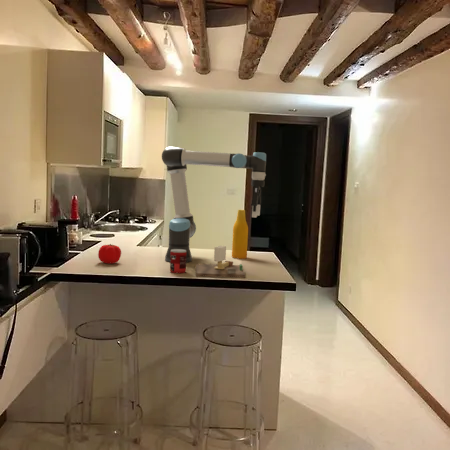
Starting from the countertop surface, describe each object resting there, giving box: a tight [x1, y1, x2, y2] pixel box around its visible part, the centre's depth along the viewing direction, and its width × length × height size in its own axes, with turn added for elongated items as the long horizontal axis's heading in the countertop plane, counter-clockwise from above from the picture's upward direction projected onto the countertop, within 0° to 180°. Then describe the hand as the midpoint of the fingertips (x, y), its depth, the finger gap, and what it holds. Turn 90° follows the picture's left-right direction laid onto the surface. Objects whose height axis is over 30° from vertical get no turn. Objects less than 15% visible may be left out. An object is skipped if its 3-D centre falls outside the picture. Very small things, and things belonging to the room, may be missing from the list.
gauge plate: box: [195, 260, 246, 279], centre depth 240 cm, size 24×24×4 cm
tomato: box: [97, 243, 122, 265], centre depth 251 cm, size 12×12×10 cm
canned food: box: [169, 249, 187, 274], centre depth 236 cm, size 8×8×11 cm
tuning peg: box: [213, 245, 229, 269], centre depth 243 cm, size 5×14×11 cm, turn 153°
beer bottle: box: [231, 209, 249, 260], centre depth 284 cm, size 9×9×29 cm
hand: (255, 216), depth 272 cm, fingers open, 13 cm apart
